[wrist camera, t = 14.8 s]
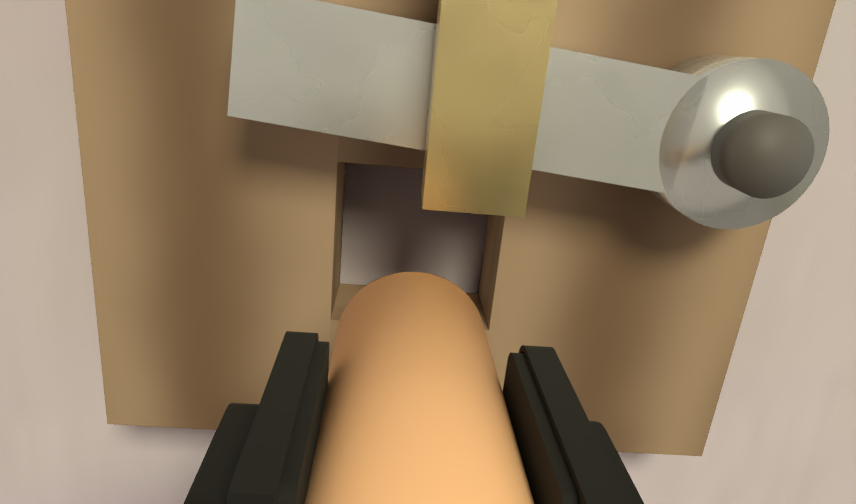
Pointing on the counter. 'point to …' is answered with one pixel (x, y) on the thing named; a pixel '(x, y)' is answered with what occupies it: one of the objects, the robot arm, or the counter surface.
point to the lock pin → (414, 403)
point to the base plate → (327, 153)
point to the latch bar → (560, 112)
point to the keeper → (485, 104)
